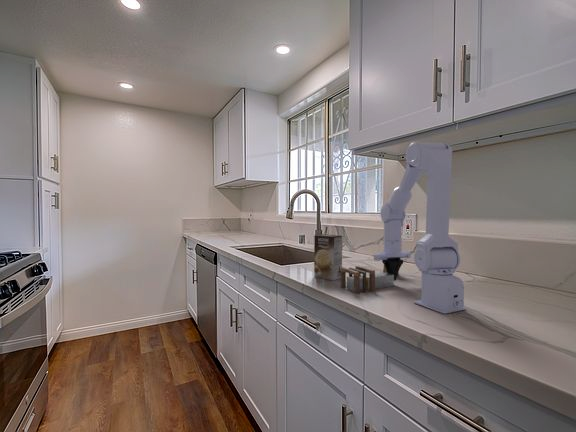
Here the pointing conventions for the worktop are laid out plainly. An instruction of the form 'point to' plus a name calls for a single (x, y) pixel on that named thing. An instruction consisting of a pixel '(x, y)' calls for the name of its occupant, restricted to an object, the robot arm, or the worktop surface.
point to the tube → (380, 281)
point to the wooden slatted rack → (356, 273)
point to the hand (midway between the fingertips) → (392, 280)
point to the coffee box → (327, 256)
